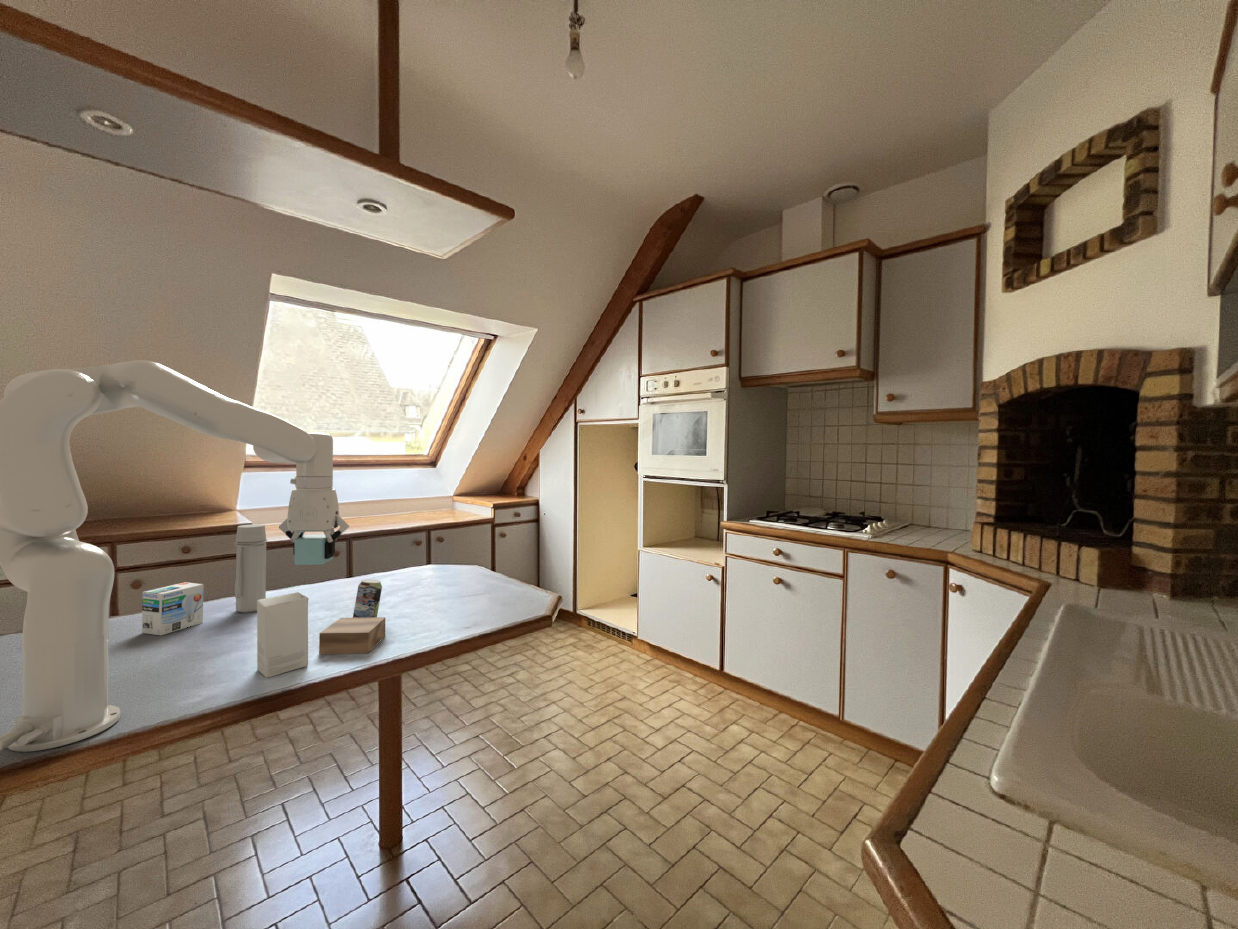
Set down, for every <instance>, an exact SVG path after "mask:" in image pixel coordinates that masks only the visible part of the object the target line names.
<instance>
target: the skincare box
mask: <svg viewBox="0 0 1238 929" xmlns="http://www.w3.org/2000/svg"><path fill="white" fill-rule="evenodd" d="M256 621H257V622H256V628H257V629H256V635H257V636H256V638H257V640H256V642H257V643H256V646H257V648H256V649H257V650H256V653H257V654H256V656H257V657H256V661H257V662H256V663H257V664H256V665H257V667H256V668H257V671H259V672H260V674H262V675H263V676H264V677H265V679H269V678H272V677H274V676H279V675H281V674H285V673H288V672H291V671H294V670H298V669H302V668H305V667H308V666H309V597H308V596H306V595H305V594H303V593H300V592H298V591H297V592H293V593H287V594H282V595H277V596H273V597H272V596H271V597H266V599H260V600H257V611H256Z"/></svg>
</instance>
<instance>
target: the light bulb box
mask: <svg viewBox="0 0 1238 929" xmlns="http://www.w3.org/2000/svg"><path fill="white" fill-rule="evenodd" d="M204 586H205V585H204V583H195V582H186V581H184V582H181V583H175V584H171V585H167V586H163V587H158V588H154V589H150V590H145V591H142V600H141V601H142V606H141V608H142V609H141V634H146V635H147V634H148V635H154V636H164V635H168V634H170V633H175V632H178V631H180V630H184V629H187V627H188V628H190V626H191V627H194V626H197V625H200V624H203V620H204V618H203V617H204V590H205V589H204V588H205V587H204Z"/></svg>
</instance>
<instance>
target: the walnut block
mask: <svg viewBox="0 0 1238 929" xmlns="http://www.w3.org/2000/svg"><path fill="white" fill-rule="evenodd" d="M384 636H385V637H386V617H381V616H380V617H378V616H377V617H368V618H353V617H340V618H339V619H337V620H335V621H334V622H333V623H331V624H330V625H329V626H327V627H326V628H325V629H324V630H321V631H320V632H319V636H318V638H319V642H318V644H319V645H318V654H319V655H351V654H350V653H366V654H369V653H370V652H371V651H372V650H373V649H374V648H375V647H376V646H377V645H378V644H379V643H380V642H381V641H382V640H383V639H384V638H385V637H384ZM383 637H384V638H383ZM382 638H383V639H382ZM381 639H382V640H381ZM380 640H381V641H380ZM379 641H380V642H379ZM378 642H379V643H378ZM377 643H378V644H377ZM376 644H377V645H376ZM375 645H376V646H375ZM374 646H375V647H374ZM373 647H374V648H373ZM372 648H373V649H372ZM371 649H372V650H371ZM370 650H371V651H370ZM369 651H370V652H369ZM368 652H369V653H368ZM346 653H347V654H346Z"/></svg>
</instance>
